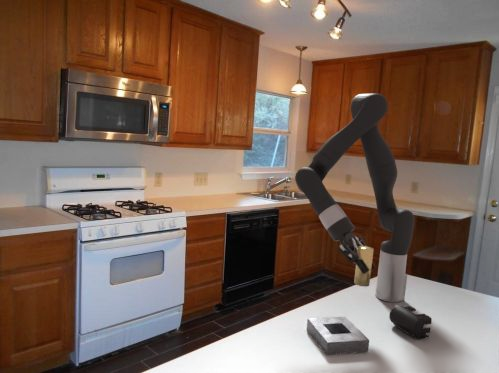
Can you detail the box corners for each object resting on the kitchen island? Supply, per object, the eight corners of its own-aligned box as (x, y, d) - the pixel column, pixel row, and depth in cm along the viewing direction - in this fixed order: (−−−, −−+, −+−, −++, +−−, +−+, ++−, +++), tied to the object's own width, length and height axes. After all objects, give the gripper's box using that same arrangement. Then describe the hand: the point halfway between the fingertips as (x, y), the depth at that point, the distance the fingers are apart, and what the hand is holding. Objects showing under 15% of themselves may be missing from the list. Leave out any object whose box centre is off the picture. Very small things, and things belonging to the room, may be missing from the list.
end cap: (387, 326, 125) (390, 305, 124) (405, 323, 128) (407, 302, 127) (412, 342, 116) (415, 319, 115) (430, 338, 119) (433, 316, 118)
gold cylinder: (364, 281, 124) (368, 246, 123) (372, 286, 120) (376, 250, 118) (351, 281, 123) (355, 245, 122) (358, 286, 119) (362, 250, 117)
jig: (344, 327, 122) (345, 316, 121) (368, 352, 108) (369, 339, 108) (306, 329, 119) (307, 318, 119) (326, 355, 105) (327, 342, 105)
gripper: (335, 218, 118) (371, 269, 112) (354, 213, 129) (387, 259, 124) (317, 232, 121) (350, 282, 116) (337, 226, 133) (368, 271, 127)
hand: (369, 270), depth 120 cm, fingers closed on gold cylinder, 4 cm apart
